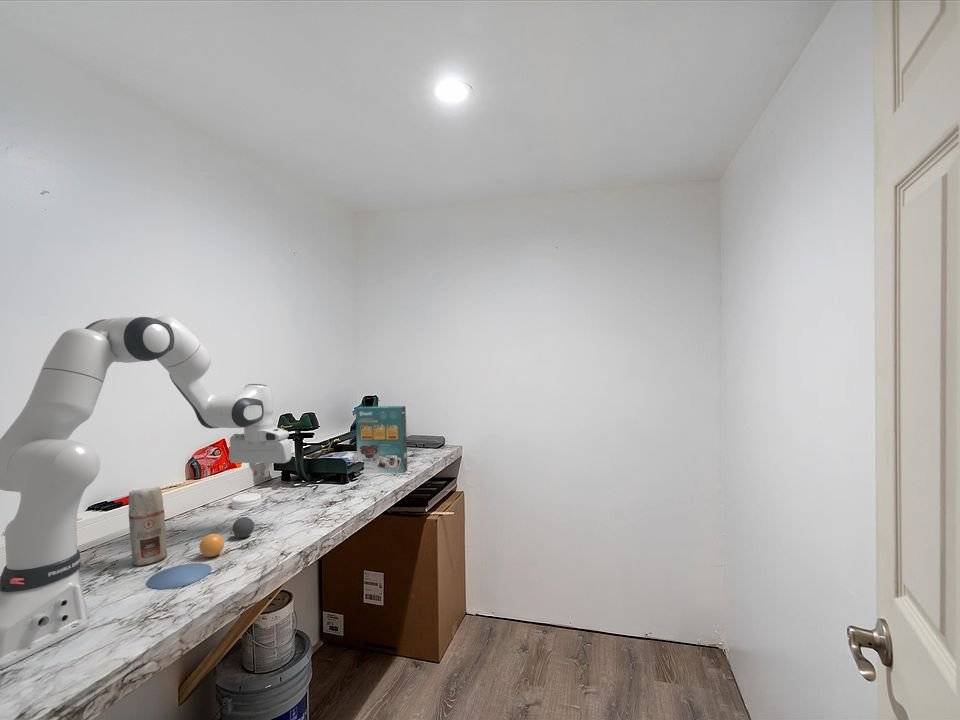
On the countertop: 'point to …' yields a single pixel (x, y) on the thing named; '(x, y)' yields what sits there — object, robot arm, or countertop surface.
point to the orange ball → (211, 545)
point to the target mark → (178, 576)
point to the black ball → (243, 527)
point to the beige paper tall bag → (147, 526)
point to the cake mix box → (382, 439)
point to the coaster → (246, 501)
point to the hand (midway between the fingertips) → (260, 476)
